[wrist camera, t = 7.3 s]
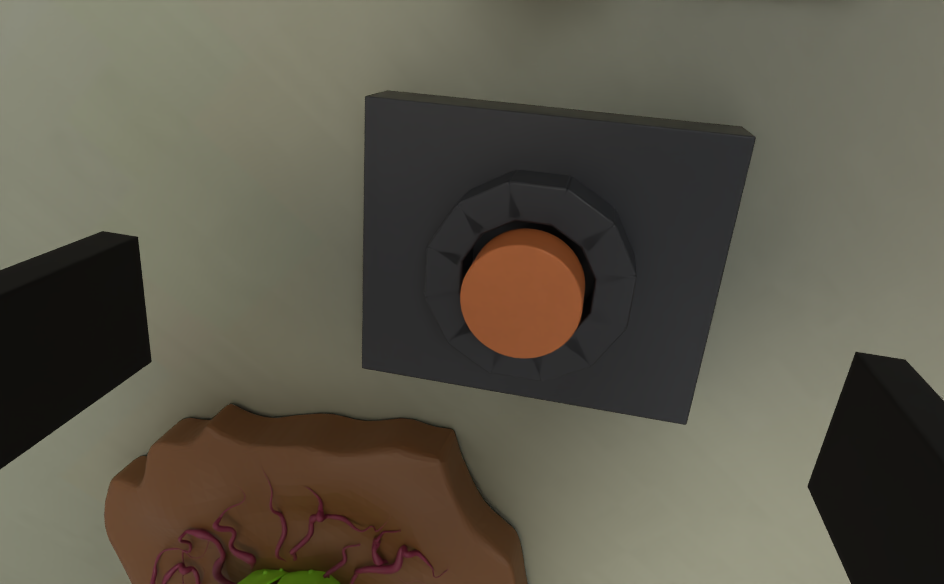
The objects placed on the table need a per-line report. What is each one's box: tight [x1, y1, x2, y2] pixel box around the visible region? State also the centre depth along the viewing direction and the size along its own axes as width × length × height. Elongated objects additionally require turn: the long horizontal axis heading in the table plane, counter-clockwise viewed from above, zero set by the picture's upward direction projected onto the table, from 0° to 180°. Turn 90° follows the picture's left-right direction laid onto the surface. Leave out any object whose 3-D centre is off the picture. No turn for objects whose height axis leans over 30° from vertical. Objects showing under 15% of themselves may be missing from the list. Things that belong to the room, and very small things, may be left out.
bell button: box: [460, 228, 585, 358], centre depth 20 cm, size 4×4×2 cm
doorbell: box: [362, 91, 756, 425], centre depth 22 cm, size 12×10×4 cm
